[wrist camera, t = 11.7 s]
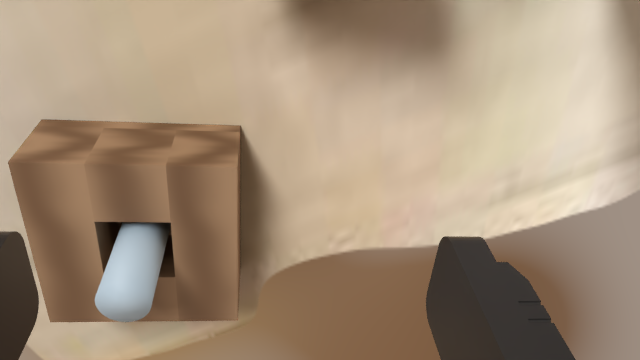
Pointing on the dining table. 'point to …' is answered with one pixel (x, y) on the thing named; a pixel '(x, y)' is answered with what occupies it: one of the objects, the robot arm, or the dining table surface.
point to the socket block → (133, 212)
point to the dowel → (132, 271)
